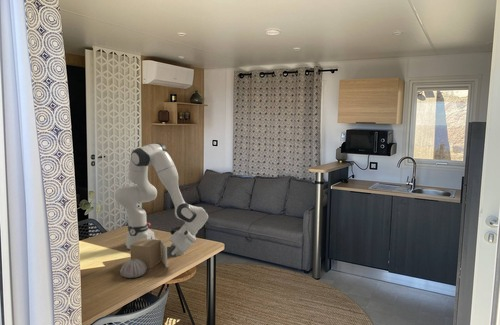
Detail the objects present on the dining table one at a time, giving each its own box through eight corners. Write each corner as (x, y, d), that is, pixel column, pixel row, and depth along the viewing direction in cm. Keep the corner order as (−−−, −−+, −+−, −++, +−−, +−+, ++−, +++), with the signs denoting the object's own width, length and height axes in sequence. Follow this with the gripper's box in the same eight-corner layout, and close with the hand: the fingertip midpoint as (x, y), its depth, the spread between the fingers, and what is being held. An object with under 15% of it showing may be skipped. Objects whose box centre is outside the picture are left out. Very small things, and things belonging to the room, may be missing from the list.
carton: (142, 258, 219) (141, 238, 217) (161, 260, 216) (160, 239, 214) (130, 266, 207) (130, 244, 206) (150, 268, 204) (149, 246, 203)
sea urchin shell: (133, 282, 187) (132, 266, 186) (114, 276, 194) (113, 261, 193) (152, 272, 199) (151, 257, 198) (133, 267, 205) (133, 253, 204)
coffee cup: (169, 252, 229) (168, 228, 227) (184, 249, 233) (184, 226, 232) (173, 257, 220) (173, 232, 218) (189, 254, 225) (189, 230, 223)
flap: (161, 259, 215) (161, 240, 214) (171, 258, 218) (171, 239, 217) (166, 266, 205) (165, 247, 203) (176, 265, 207) (176, 245, 206)
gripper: (177, 225, 219) (160, 244, 216) (189, 234, 202) (171, 255, 198) (184, 231, 222) (168, 250, 218) (197, 241, 204) (180, 261, 201)
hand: (170, 252), depth 208 cm, fingers open, 3 cm apart
